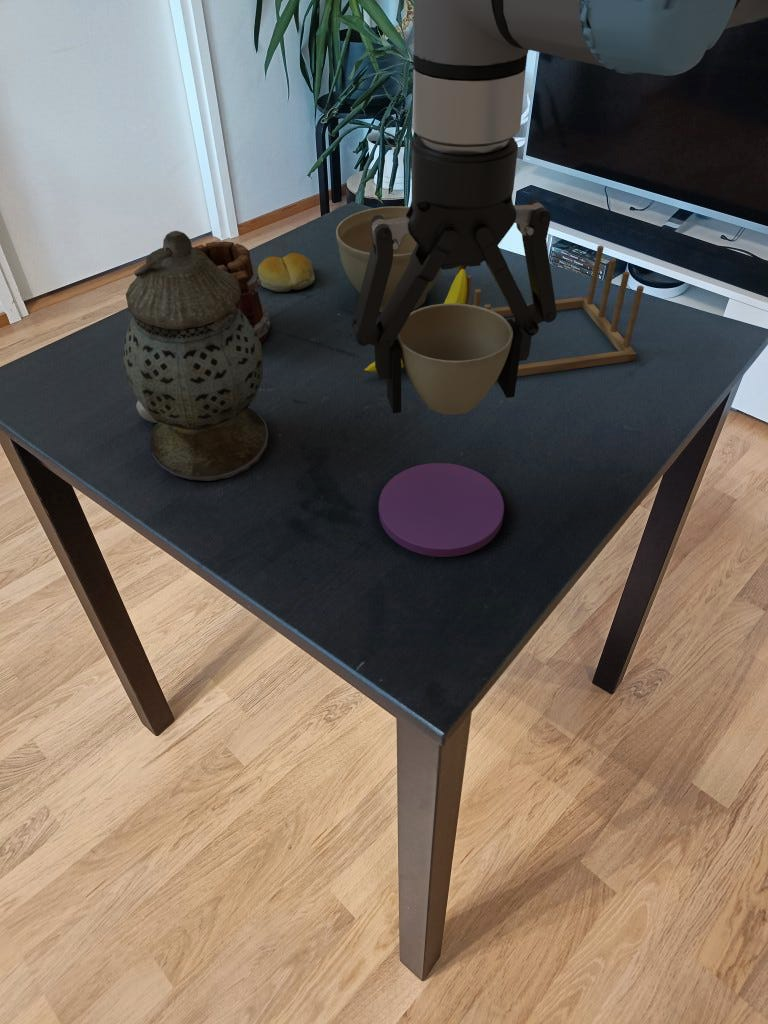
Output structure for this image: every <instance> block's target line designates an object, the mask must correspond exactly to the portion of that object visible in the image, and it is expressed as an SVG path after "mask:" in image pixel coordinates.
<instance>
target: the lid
mask: <svg viewBox="0 0 768 1024" xmlns="http://www.w3.org/2000/svg"><path fill="white" fill-rule="evenodd" d="M504 515H505V504H504V498H503V496H502V494H501V492H500V490H499V488H498V487H497V486H496V485H495V483H493V481H492V480H491V479H489V478H488V477H486V476H485V475H484V474H482V473H480V472H479V471H477V470H474V469H472V468H470V467H467V466H463V465H460V464H455V463H446V462H432V463H431V462H430V463H424V464H423V463H422V464H419V465H415V466H412V467H410V468H409V467H408V468H406V469H404V470H402V471H401V472H399V473H397V474H396V475H395V476H393V477H392V478H391V479H390V480H388V482H387V483H386V484H385V485H384V486H383V488H382V490H381V493H380V495H379V499H378V516H379V522H380V524H381V527H382V528H383V530H384V532H385V533H386V534H387V536H388V537H389V538H390V539H391V540H392V541H394V542H395V543H396V544H397V545H399V546H400V547H402V548H404V549H405V550H408V551H410V552H413V553H416V554H419V555H423V556H427V557H433V558H453V557H459V556H463V555H464V556H465V555H469V554H471V553H473V552H476V551H478V550H480V549H482V548H483V547H485V546H486V545H488V544H489V543H490V542H492V540H493V539H494V538H495V537H496V536H497V534H499V532H500V530H501V527H502V525H503V522H504V521H503V520H504Z"/></svg>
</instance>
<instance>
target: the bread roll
mask: <svg viewBox="0 0 768 1024" xmlns="http://www.w3.org/2000/svg"><path fill="white" fill-rule="evenodd" d="M257 270H258V274H259V278H260V281H261V285H260V286H261V287H263V288H265V289H266V290H269V291H272V292H277V293H287V292H290V291H291V290H295V291H299V290H303V289H306V288H307V287H309V286H311V285H313V283H314V282H315V279H316V277H315V272H314V269H313V264H312V260H310V259H309V258H308V257H307V256H305V255H303V254H302V253H296V252H291V253H288V254H286V255H285V256H283V257H280V256H275V255H272V256H268V257H266V258H265V259H263V260H262V261H261V262H260V263H259V265H258V267H257Z"/></svg>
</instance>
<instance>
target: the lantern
mask: <svg viewBox="0 0 768 1024" xmlns="http://www.w3.org/2000/svg"><path fill="white" fill-rule="evenodd" d="M194 247H195V246H194ZM194 247H193V245H192V241H191V238H190V237H189V236H188V235H187V234H185V233H184V232H183V231H180V230H173V231H170V232H168V233H167V234H166V235H165V237H164V238H163V243H162V247H160V248H158V249H156V250H154V251H152V252H151V253H149V255H148V256H146V261H145V264H143V265H142V266H140V267H139V268H137V269H136V270H134V272H133V273H134V276H135V277H136V278H135V279H134V280H133V281H132V282H131V283H130V284H129V286H128V289H127V290H126V292H125V298H126V304H127V309H128V311H129V312H130V313H131V315H132V317H131V319H130V322H129V325H128V327H127V332H126V335H125V338H124V348H123V357H122V358H123V359H122V361H123V366H124V370H125V374H126V379H127V382H128V384H129V386H130V389H131V391H132V393H133V395H134V396H135V398H136V399H137V401H138V400H139V402H140V403H141V404H142V406H143V407H144V409H145V410H146V411H147V412H148V413H149V414H150V415H151V416H152V417H153V418H154V419H155V420H156V421H158V422H157V423H155V425H154V426H153V430H152V432H151V435H150V438H149V442H150V443H149V444H150V448H151V449H150V450H151V454H152V456H153V458H154V459H155V461H156V462H157V464H158V465H159V466H160V467H161V468H162V469H164V470H166V471H167V472H169V473H170V474H172V475H173V476H176V477H180V478H183V479H185V480H186V479H187V480H190V481H204V482H205V481H206V482H207V481H208V482H210V481H217V480H223V479H229V478H232V477H234V476H236V475H238V474H241V473H243V472H244V473H245V472H246V471H247V470H249V469H251V468H252V467H253V466H254V465H255V464H256V463H258V462H259V461H260V459H261V458H262V457H263V455H264V454H265V452H266V451H267V449H268V443H269V437H270V435H269V431H268V427H267V423H266V420H264V418H263V417H262V416H261V415H260V414H259V413H258V412H257V411H256V410H253V409H252V408H251V407H250V406H251V404H252V402H253V401H254V399H255V397H256V396H257V393H258V391H259V388H260V385H261V383H262V381H263V377H264V368H263V367H264V363H263V349H262V342H261V343H260V341H259V339H258V337H257V335H256V333H255V331H254V329H253V327H252V326H251V324H250V323H249V321H248V320H247V318H246V316H245V315H244V314H243V313H242V312H241V311H240V310H239V309H238V308H237V307H238V305H239V303H240V299H241V291H240V287H239V283H238V280H236V279H235V278H234V277H233V276H232V275H231V274H230V273H228V272H226V271H224V270H222V269H220V268H219V267H217V266H216V265H215V264H214V263H213V262H212V261H211V260H210V259H209V258H208V257H207V256H206V255H205V254H204V253H203V252H202V251H200V250H199V249H197V248H194Z"/></svg>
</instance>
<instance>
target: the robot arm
mask: <svg viewBox="0 0 768 1024" xmlns="http://www.w3.org/2000/svg"><path fill="white" fill-rule="evenodd" d="M767 18H768V0H413V55H412V57H413V58H412V65H413V81H412V83H413V85H412V130H413V132H414V133H415V134H416V135H417V136H416V138H415V140H413V142H412V144H411V201H410V204H409V207H410V208H409V210H408V212H407V214H406V216H405V217H399V218H393V219H387V220H385V219H384V217H383V216H381V215H376V216H374V217H373V218H372V219H371V221H370V228H371V238H372V248H371V252H370V256H369V260H368V264H367V268H366V271H365V275H364V279H363V283H362V287H361V291H360V293H359V294H358V299H357V304H356V307H355V311H354V315H353V318H352V323H351V327H352V331H353V334H354V337H355V340H356V342H357V344H358V345H359V346H362V347H363V346H367V345H372V346H374V362H375V367H376V370H377V372H376V373H377V375H378V378H379V379H380V380H386V397H387V400H388V403H389V406H390V409H391V411H392V414H393V415H394V414H401V413H402V368H401V348H400V346H399V343H398V341H397V336H398V334H399V333H400V331H401V329H402V327H403V326H404V324H405V322H406V321H407V319H408V317H409V315H410V314H411V312H413V311H414V310H413V309H414V307H415V305H416V303H417V302H418V300H419V298H420V297H421V295H422V293H423V291H424V290H425V288H426V286H427V285H428V283H429V282H431V281H433V280H434V278H435V277H436V275H437V273H438V271H439V270H440V268H442V271H444V270H445V271H446V270H453V269H457V267H458V266H461V265H464V266H467V267H471V268H472V267H473V268H474V267H481V265H482V263H483V262H485V264H486V266H487V268H488V270H489V272H490V274H491V276H492V277H493V279H494V281H495V283H496V285H497V288H498V289H499V291H500V292H501V294H502V297H503V298H504V300H505V303H506V304H507V306H509V308H510V310H511V312H512V313H513V315H514V316H513V317H514V319H513V318H509V319H506V320H507V321H508V322H509V323H510V325H511V327H512V329H513V339H512V343H511V347H510V351H509V353H508V356H507V359H506V361H505V364H504V366H503V368H502V371H501V373H500V375H499V376H498V379H497V380H496V382H497V383H498V386H499V387H500V389H501V391H502V393H503V395H504V396H505V398H506V399H510V398H515V395H516V387H517V381H518V377H517V373H518V366H519V365H520V362H523V361H527V359H528V358H529V356H530V352H531V351H530V350H531V343H532V337H534V336H535V335H537V334H538V332H539V330H540V326H539V324H541V323H543V322H545V323H548V324H549V323H552V322H553V321H555V320H556V318H557V316H558V314H557V313H558V311H556V305H555V300H556V298H555V291H554V285H553V284H554V283H553V276H552V271H551V263H550V255H549V250H548V249H549V248H548V242H547V239H548V234H549V228H550V225H551V219H552V218H551V217H552V216H551V213H550V211H549V210H547V208H545V206H544V205H543V204H542V203H541V202H540V201H539V200H538V199H535V198H533V199H530V200H529V201H527V202H526V204H515V205H514V202H513V193H514V190H515V189H514V188H515V180H516V179H515V178H516V170H517V169H516V168H517V160H518V150H519V144H518V142H517V141H516V139H515V138H514V137H515V136H516V135H518V134H519V132H520V129H521V123H522V115H523V113H522V112H523V104H524V92H525V82H526V70H527V61H528V54H529V51H532V52H537V53H542V54H546V55H550V56H555V57H560V58H563V59H569V60H573V61H578V62H582V63H587V64H591V65H595V66H599V67H605V68H606V69H608V70H614V71H615V72H616V73H618V74H619V73H620V74H622V75H623V74H625V75H633V74H636V73H641V74H649V75H650V74H651V75H658V76H665V77H666V76H667V77H668V76H677V75H680V74H683V73H686V72H687V71H689V70H691V69H692V68H693V67H696V66H697V65H698V63H700V61H701V60H702V59H703V57H704V55H705V53H706V51H707V50H710V49H712V48H713V47H714V46H715V45H716V43H717V42H718V41H719V39H720V38H721V35H723V32H724V31H725V30H726V29H730V28H733V27H739V26H744V25H747V24H750V23H755V22H759V21H762V20H765V19H767ZM515 224H516V229H517V230H518V232H519V233H520V234H521V239H522V244H523V245H522V246H523V250H524V257H525V262H526V268H527V274H528V280H529V281H528V282H529V287H530V292H531V299H532V303H533V304H530V303H529V304H530V305H528V306H527V304H528V303H527V302H526V300H525V298H524V296H523V293H522V292H521V290H520V288H519V287H518V284H517V282H516V280H515V278H514V276H513V274H512V271H510V268H509V266H508V263H507V261H506V259H505V257H504V255H503V253H502V251H501V249H500V247H499V245H500V243H501V242H502V241H503V240H504V238H505V237H506V235H507V234H508V233H509V231H510V230H511V228H512V227H513V226H514V225H515ZM407 234H410V235H411V236H412V238H413V239H414V240H415V242H416V243H417V245H416V247H415V248H414V250H413V252H412V254H411V256H410V262H409V264H408V266H407V268H406V270H405V272H404V273H403V275H402V277H401V279H400V281H399V282H398V284H397V286H396V288H395V290H394V291H393V293H392V295H391V297H390V299H389V300H388V302H387V304H386V306H385V308H384V309H383V311H382V312H379V310H380V306H381V303H382V299H383V295H384V292H385V288H386V285H387V281H388V277H389V274H390V270H391V266H392V262H393V250H397V249H399V247H400V245H401V240H402V238H403V237H404V236H405V235H407ZM379 313H380V315H379Z"/></svg>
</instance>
